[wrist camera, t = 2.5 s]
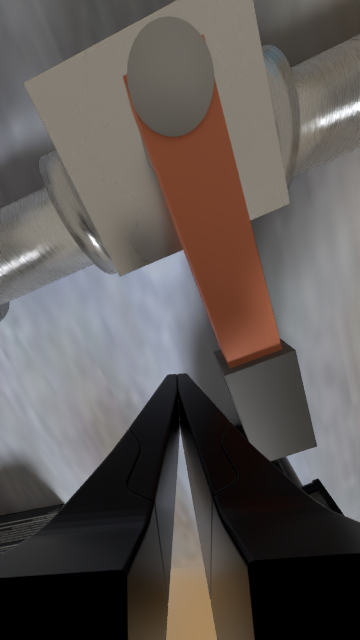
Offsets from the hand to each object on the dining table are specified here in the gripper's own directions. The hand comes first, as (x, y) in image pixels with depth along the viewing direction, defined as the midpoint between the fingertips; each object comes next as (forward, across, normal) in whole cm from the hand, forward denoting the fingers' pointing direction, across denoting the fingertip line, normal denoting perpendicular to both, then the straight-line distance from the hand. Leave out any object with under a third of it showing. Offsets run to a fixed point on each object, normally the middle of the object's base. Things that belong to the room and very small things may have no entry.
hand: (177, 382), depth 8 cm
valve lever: (+2, -2, -4) cm, 4 cm away
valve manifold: (+9, 0, -9) cm, 13 cm away
